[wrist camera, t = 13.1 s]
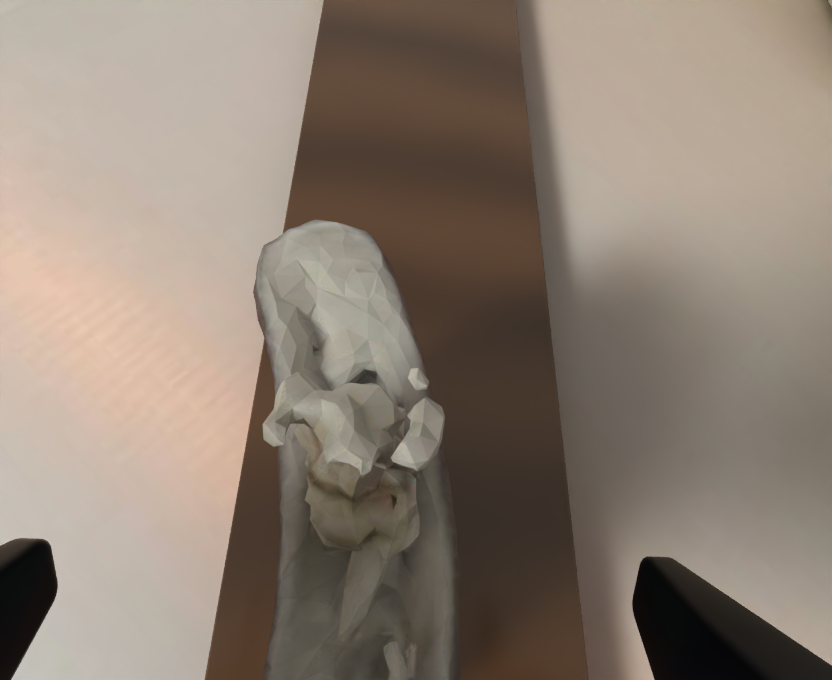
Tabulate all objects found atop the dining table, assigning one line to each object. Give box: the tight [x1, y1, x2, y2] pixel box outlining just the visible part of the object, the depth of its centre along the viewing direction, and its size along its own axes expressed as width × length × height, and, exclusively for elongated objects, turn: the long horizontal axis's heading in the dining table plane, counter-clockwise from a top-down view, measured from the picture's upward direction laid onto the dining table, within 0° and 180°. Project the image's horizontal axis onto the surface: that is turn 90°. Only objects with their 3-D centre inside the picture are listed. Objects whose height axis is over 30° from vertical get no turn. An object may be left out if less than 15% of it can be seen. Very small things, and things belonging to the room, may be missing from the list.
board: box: [205, 0, 588, 680], centre depth 23 cm, size 40×10×2 cm, turn 179°
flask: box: [253, 220, 461, 680], centre depth 10 cm, size 9×3×11 cm, turn 8°
